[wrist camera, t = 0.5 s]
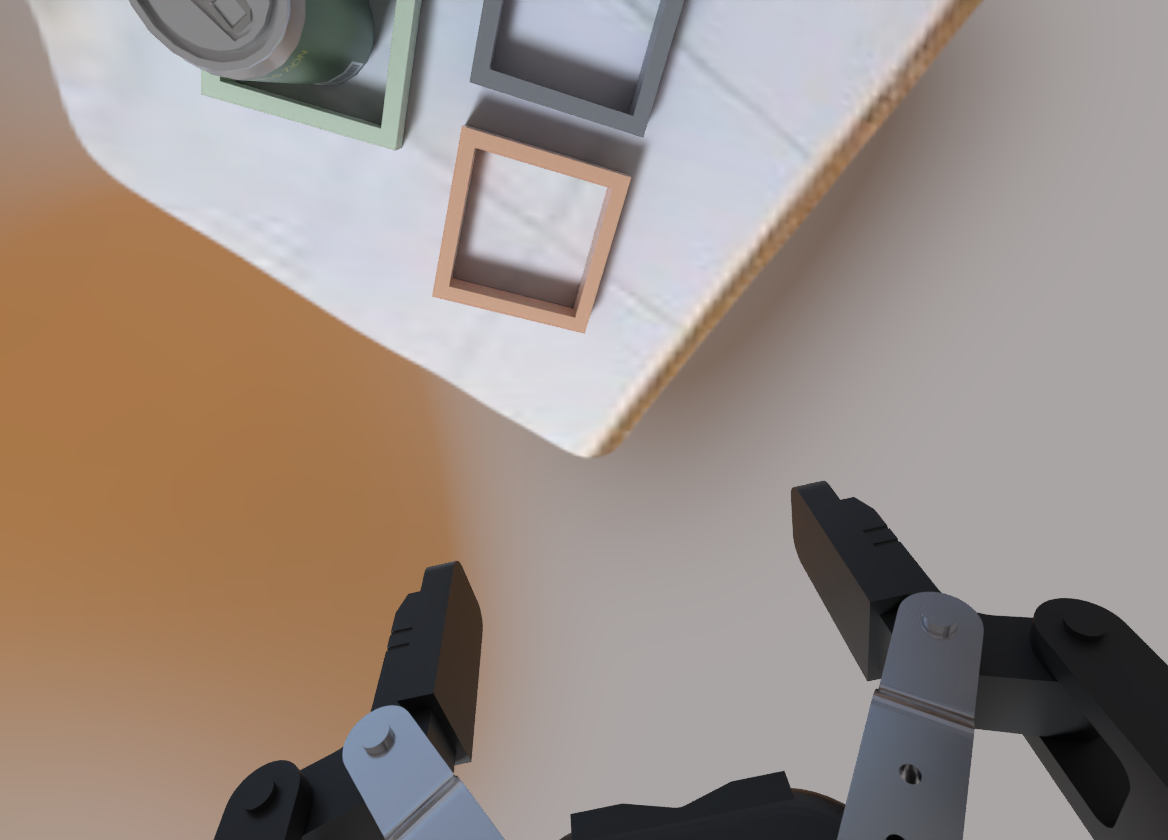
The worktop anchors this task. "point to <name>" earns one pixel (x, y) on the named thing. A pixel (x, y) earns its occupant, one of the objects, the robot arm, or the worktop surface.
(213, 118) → the worktop surface
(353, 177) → the worktop surface
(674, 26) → the charcoal frame
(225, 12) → the beer can
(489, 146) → the terracotta frame
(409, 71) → the sage frame
